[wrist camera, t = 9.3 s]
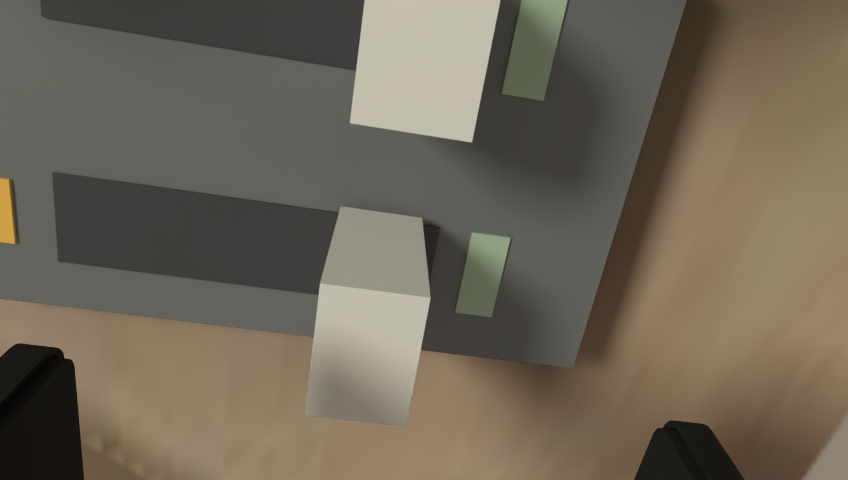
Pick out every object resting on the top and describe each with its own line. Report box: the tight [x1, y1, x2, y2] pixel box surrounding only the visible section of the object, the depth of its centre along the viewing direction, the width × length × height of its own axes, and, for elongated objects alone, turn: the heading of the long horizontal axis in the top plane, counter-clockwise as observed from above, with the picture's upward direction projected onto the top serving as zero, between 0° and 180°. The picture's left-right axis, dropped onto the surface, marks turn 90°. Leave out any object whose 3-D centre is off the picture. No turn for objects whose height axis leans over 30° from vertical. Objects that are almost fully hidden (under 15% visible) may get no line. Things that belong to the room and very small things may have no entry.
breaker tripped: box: [305, 206, 431, 426], centre depth 16 cm, size 4×2×5 cm
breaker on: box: [350, 0, 500, 142], centre depth 13 cm, size 4×2×5 cm
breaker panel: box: [0, 0, 687, 368], centre depth 18 cm, size 13×22×3 cm, turn 80°
